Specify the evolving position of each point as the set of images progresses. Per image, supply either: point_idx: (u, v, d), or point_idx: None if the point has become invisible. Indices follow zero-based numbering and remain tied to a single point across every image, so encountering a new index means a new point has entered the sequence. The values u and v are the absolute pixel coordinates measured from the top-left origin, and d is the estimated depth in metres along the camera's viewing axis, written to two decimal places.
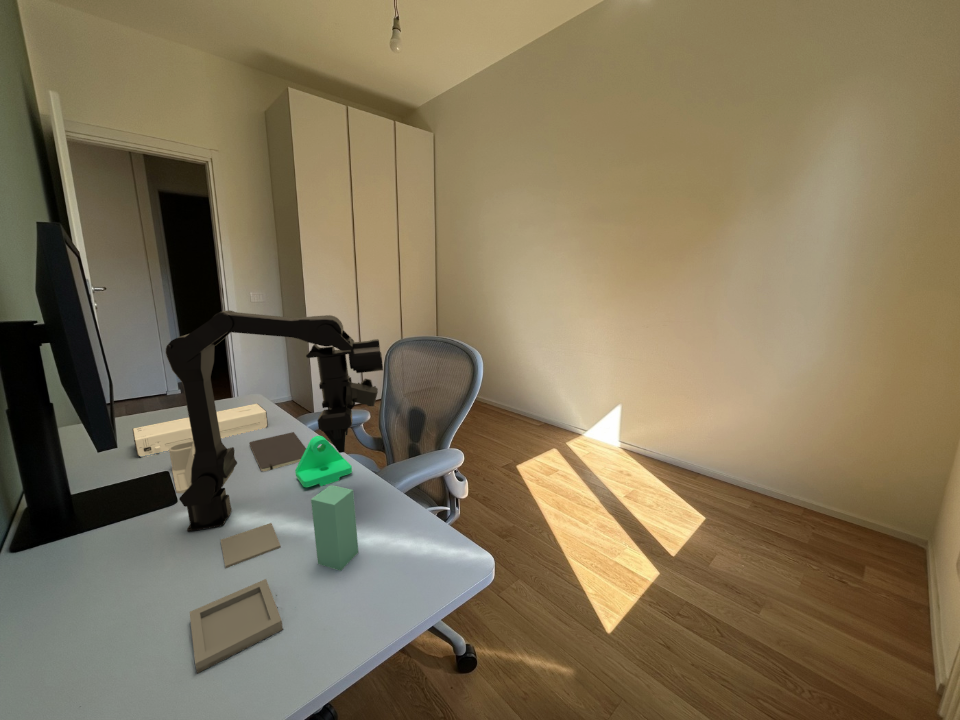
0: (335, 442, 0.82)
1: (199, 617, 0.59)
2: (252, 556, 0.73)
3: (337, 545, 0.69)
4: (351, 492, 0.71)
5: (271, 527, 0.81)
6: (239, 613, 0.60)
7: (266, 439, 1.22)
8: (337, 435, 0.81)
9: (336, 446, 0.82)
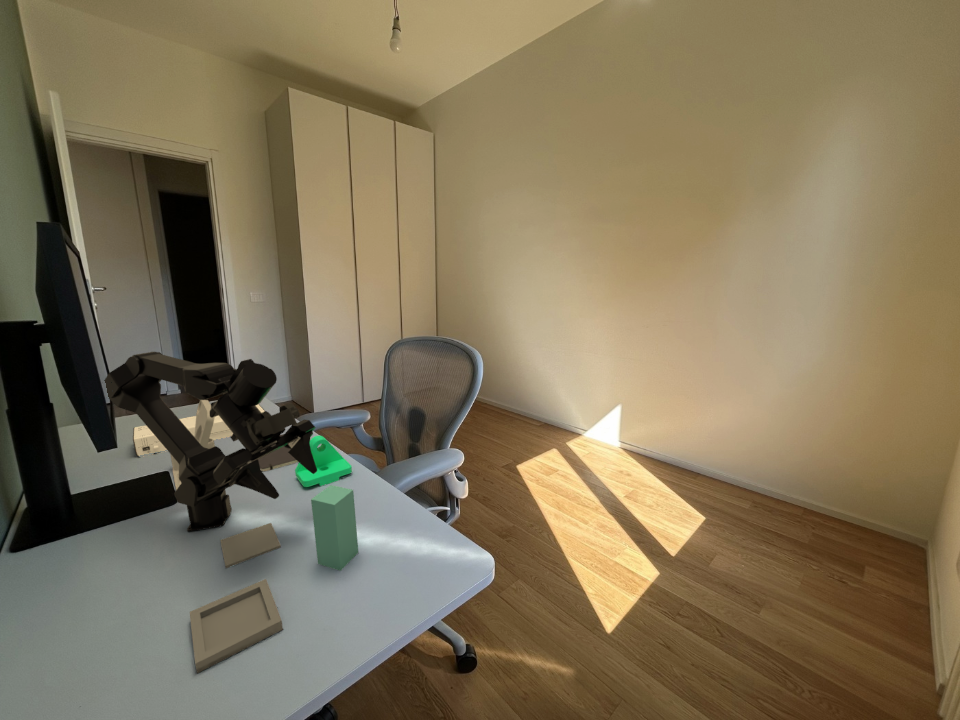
0: (261, 490, 0.68)
1: (199, 617, 0.59)
2: (252, 556, 0.73)
3: (337, 544, 0.69)
4: (351, 492, 0.71)
5: (271, 527, 0.81)
6: (239, 613, 0.60)
7: None
8: (255, 482, 0.68)
9: (265, 493, 0.68)
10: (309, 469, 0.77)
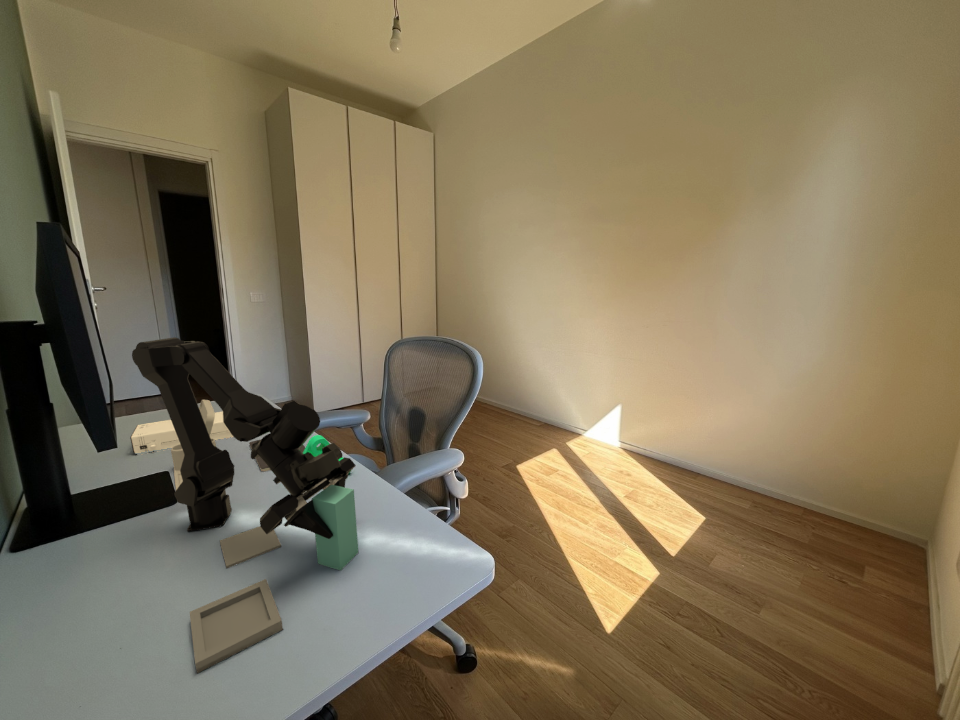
0: (315, 530, 0.68)
1: (199, 617, 0.59)
2: (253, 556, 0.73)
3: (337, 544, 0.69)
4: (352, 492, 0.71)
5: None
6: (239, 613, 0.60)
7: None
8: (309, 522, 0.68)
9: (319, 534, 0.68)
10: None
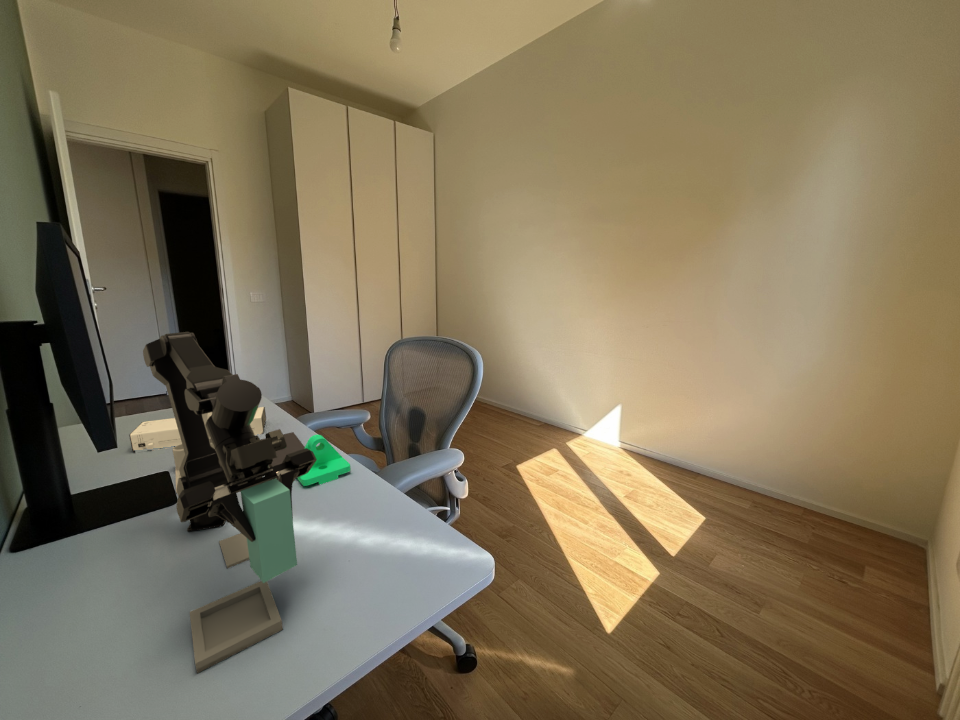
0: (238, 528, 0.58)
1: (199, 617, 0.59)
2: None
3: (258, 551, 0.57)
4: (286, 492, 0.59)
5: None
6: (239, 613, 0.60)
7: None
8: (233, 517, 0.58)
9: (243, 533, 0.58)
10: None
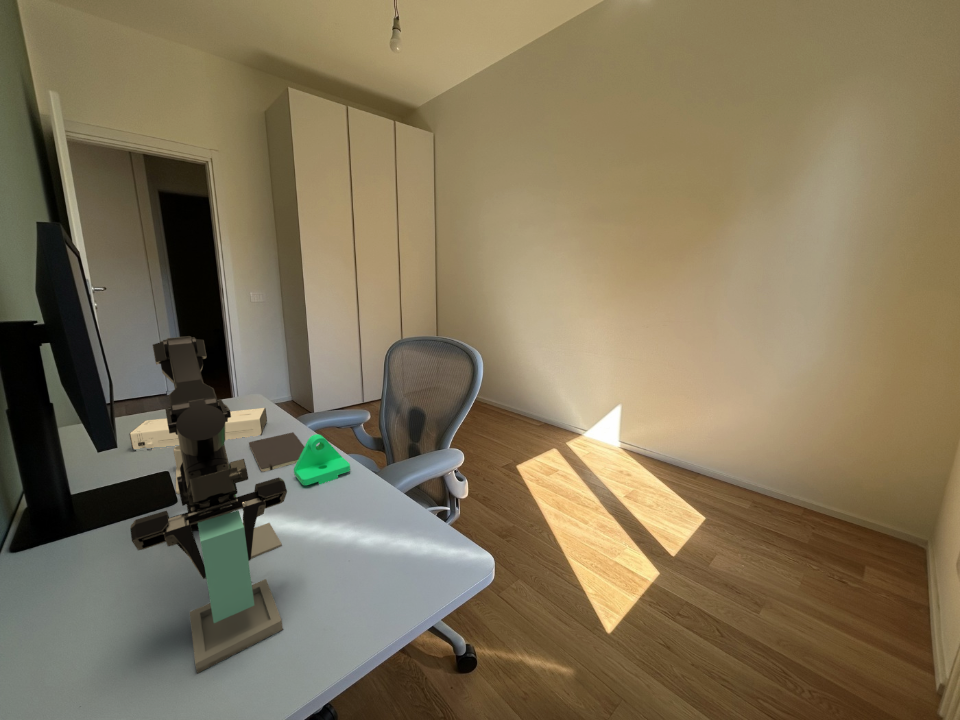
0: (193, 562, 0.55)
1: (199, 617, 0.59)
2: (254, 555, 0.73)
3: (208, 590, 0.54)
4: (240, 529, 0.55)
5: (270, 527, 0.81)
6: (239, 613, 0.60)
7: (266, 439, 1.22)
8: None
9: (196, 568, 0.55)
10: None
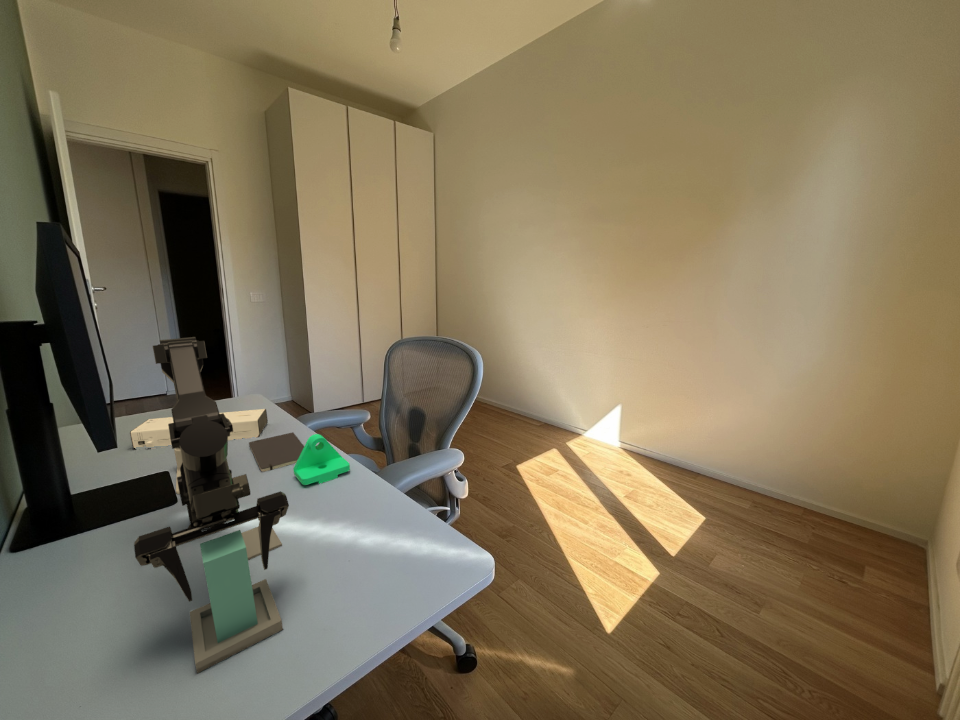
0: (179, 584, 0.54)
1: (199, 617, 0.59)
2: (254, 555, 0.73)
3: None
4: (242, 550, 0.56)
5: None
6: None
7: (266, 439, 1.22)
8: None
9: (182, 590, 0.54)
10: (262, 562, 0.60)
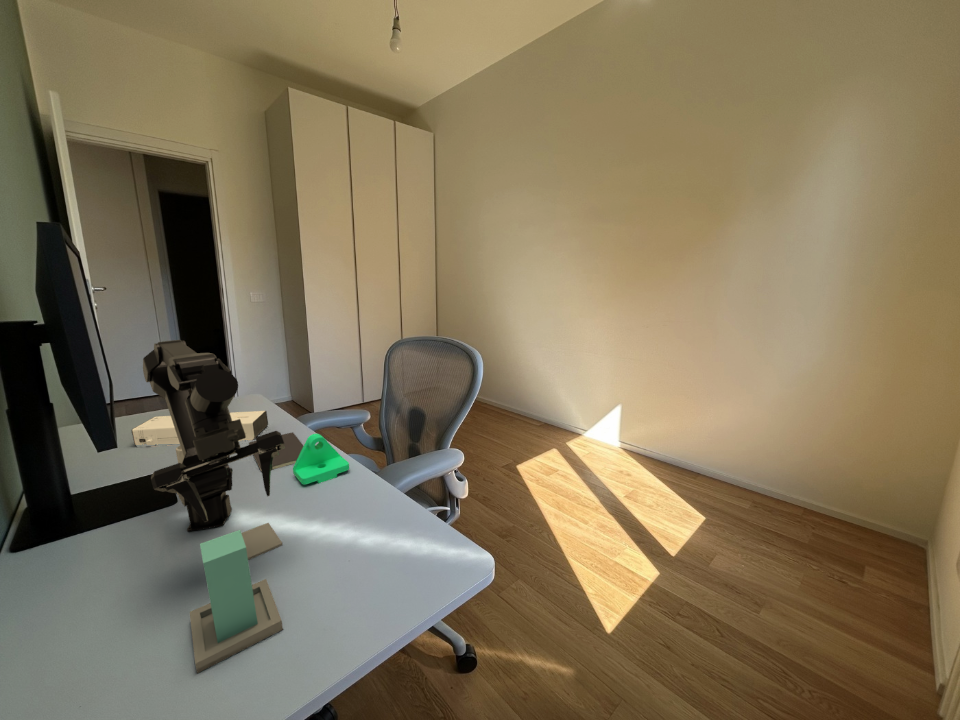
0: None
1: (199, 617, 0.59)
2: (255, 555, 0.73)
3: None
4: (242, 550, 0.56)
5: (269, 527, 0.81)
6: None
7: None
8: None
9: None
10: None
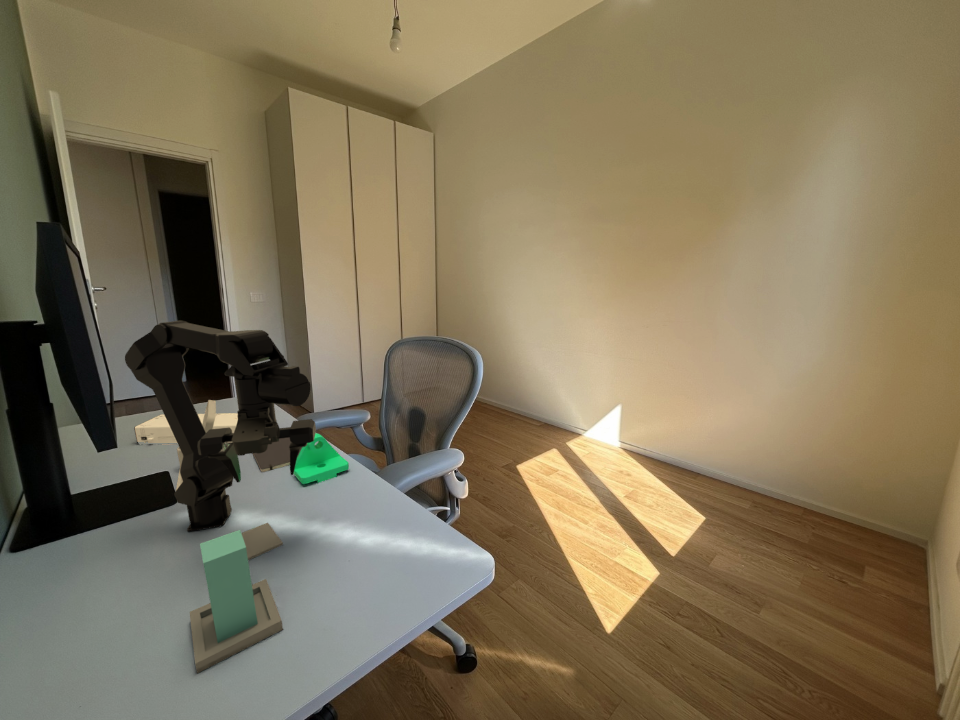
0: None
1: (199, 617, 0.59)
2: (255, 555, 0.73)
3: None
4: (242, 550, 0.56)
5: (269, 526, 0.81)
6: None
7: None
8: None
9: None
10: None
